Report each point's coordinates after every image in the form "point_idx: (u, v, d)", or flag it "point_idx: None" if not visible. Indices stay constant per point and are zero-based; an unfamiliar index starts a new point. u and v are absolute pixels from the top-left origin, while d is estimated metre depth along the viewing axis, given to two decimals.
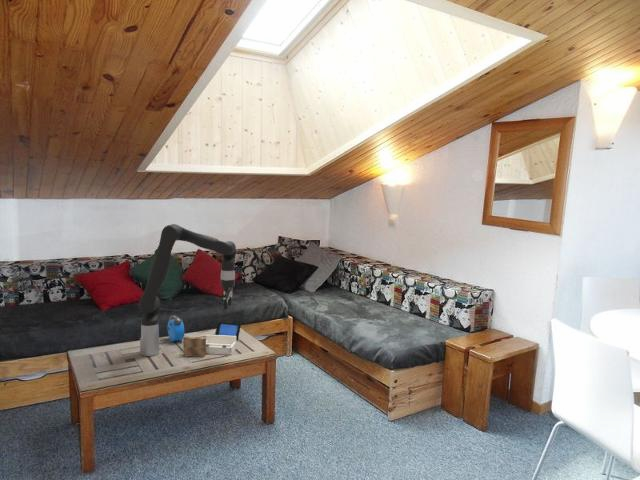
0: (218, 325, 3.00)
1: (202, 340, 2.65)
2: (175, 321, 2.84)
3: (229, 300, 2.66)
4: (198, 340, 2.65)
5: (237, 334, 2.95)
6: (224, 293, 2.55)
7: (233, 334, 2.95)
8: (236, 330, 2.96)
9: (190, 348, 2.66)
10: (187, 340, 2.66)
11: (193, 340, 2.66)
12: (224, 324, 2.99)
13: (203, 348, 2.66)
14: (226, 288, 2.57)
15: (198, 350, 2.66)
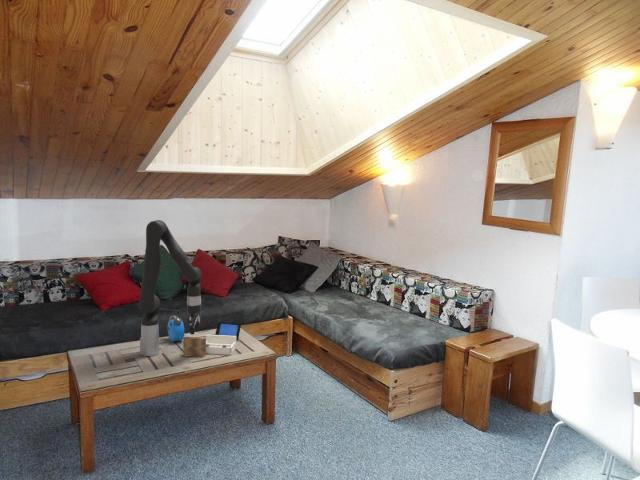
0: (218, 325, 3.00)
1: (202, 340, 2.65)
2: (175, 321, 2.84)
3: (197, 324, 2.70)
4: (198, 340, 2.65)
5: (237, 334, 2.95)
6: (190, 319, 2.58)
7: (233, 334, 2.96)
8: (236, 330, 2.97)
9: (190, 348, 2.66)
10: (187, 340, 2.66)
11: (193, 340, 2.66)
12: (224, 324, 3.00)
13: (203, 348, 2.66)
14: (192, 313, 2.61)
15: (198, 350, 2.66)
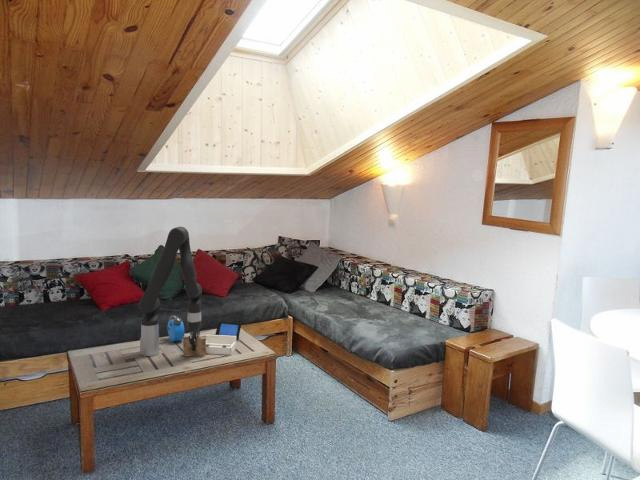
0: (218, 325, 3.00)
1: (202, 340, 2.65)
2: (175, 321, 2.84)
3: None
4: (198, 340, 2.65)
5: (238, 334, 2.96)
6: (190, 338, 2.60)
7: (233, 334, 2.96)
8: (236, 330, 2.97)
9: (189, 347, 2.66)
10: (187, 340, 2.66)
11: None
12: (224, 324, 3.00)
13: (203, 348, 2.66)
14: (192, 330, 2.62)
15: (198, 350, 2.66)
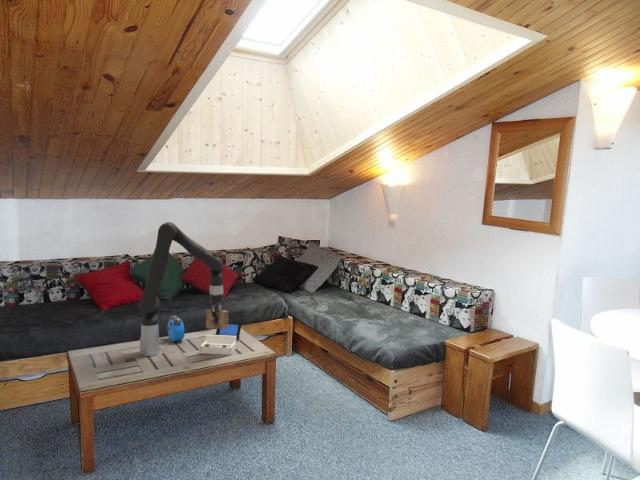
0: None
1: (224, 313, 2.68)
2: (175, 321, 2.84)
3: None
4: (221, 313, 2.68)
5: (238, 333, 2.96)
6: (213, 310, 2.63)
7: (234, 333, 2.97)
8: (237, 329, 2.98)
9: (212, 320, 2.69)
10: (209, 313, 2.69)
11: None
12: None
13: (225, 321, 2.69)
14: (215, 302, 2.65)
15: (220, 323, 2.69)
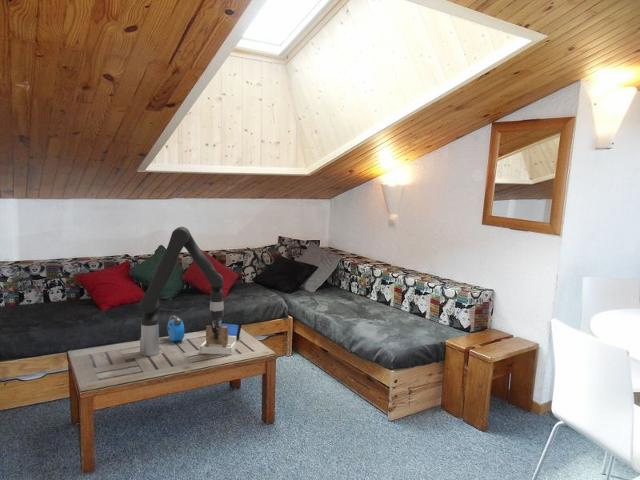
0: None
1: (224, 329, 2.70)
2: (175, 321, 2.84)
3: None
4: (221, 329, 2.70)
5: (238, 333, 2.97)
6: (213, 327, 2.65)
7: (234, 333, 2.97)
8: (237, 329, 2.98)
9: (212, 336, 2.71)
10: (210, 329, 2.70)
11: None
12: (225, 323, 3.01)
13: (225, 337, 2.70)
14: (215, 319, 2.67)
15: (220, 339, 2.70)
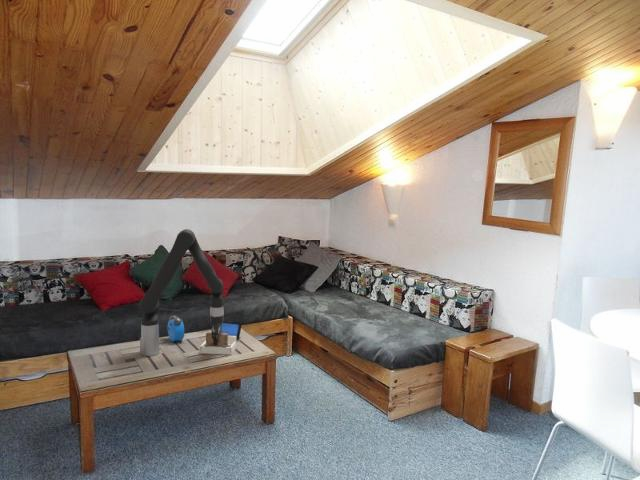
0: None
1: (224, 336, 2.70)
2: (175, 321, 2.84)
3: None
4: (221, 336, 2.70)
5: (238, 333, 2.97)
6: (213, 331, 2.65)
7: (234, 333, 2.97)
8: (237, 329, 2.98)
9: (212, 343, 2.71)
10: (210, 336, 2.71)
11: None
12: (225, 323, 3.01)
13: (225, 344, 2.71)
14: (215, 324, 2.67)
15: (220, 346, 2.71)
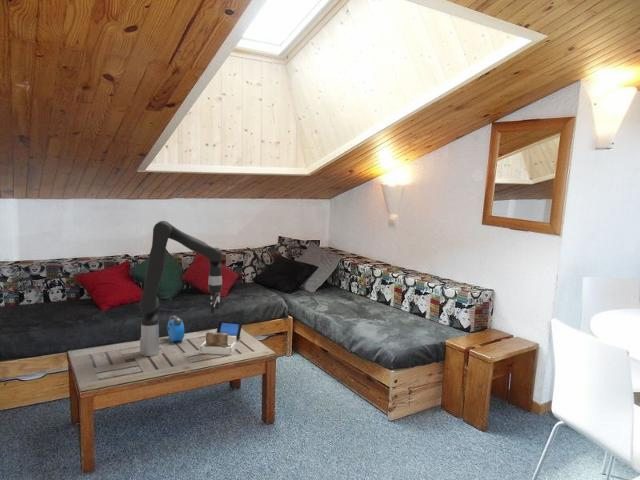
0: (219, 324, 3.02)
1: (224, 336, 2.70)
2: (175, 321, 2.84)
3: (217, 304, 2.76)
4: (221, 336, 2.70)
5: (238, 333, 2.98)
6: (211, 298, 2.64)
7: (234, 333, 2.98)
8: (237, 329, 2.99)
9: (212, 343, 2.71)
10: (210, 336, 2.71)
11: (215, 336, 2.70)
12: (225, 323, 3.01)
13: (225, 344, 2.71)
14: (213, 293, 2.67)
15: (220, 346, 2.71)
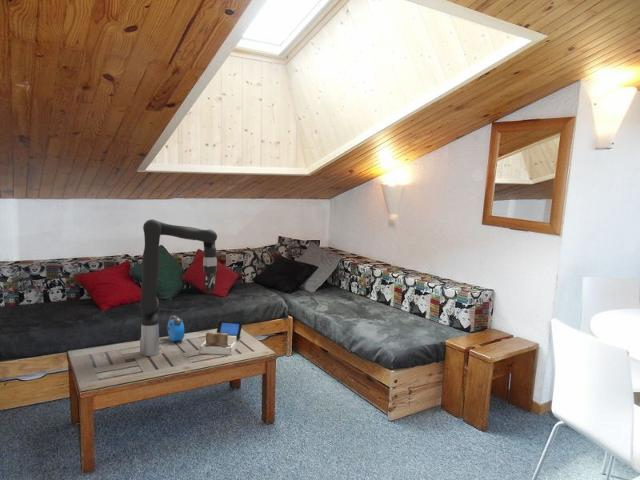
0: (219, 324, 3.02)
1: (224, 336, 2.70)
2: (175, 321, 2.84)
3: (212, 286, 2.80)
4: (221, 336, 2.70)
5: (239, 332, 2.98)
6: (206, 278, 2.69)
7: (235, 333, 2.98)
8: (237, 329, 2.99)
9: (212, 343, 2.71)
10: (210, 336, 2.71)
11: (215, 336, 2.70)
12: (225, 323, 3.02)
13: (225, 344, 2.71)
14: (208, 274, 2.71)
15: (220, 346, 2.71)
